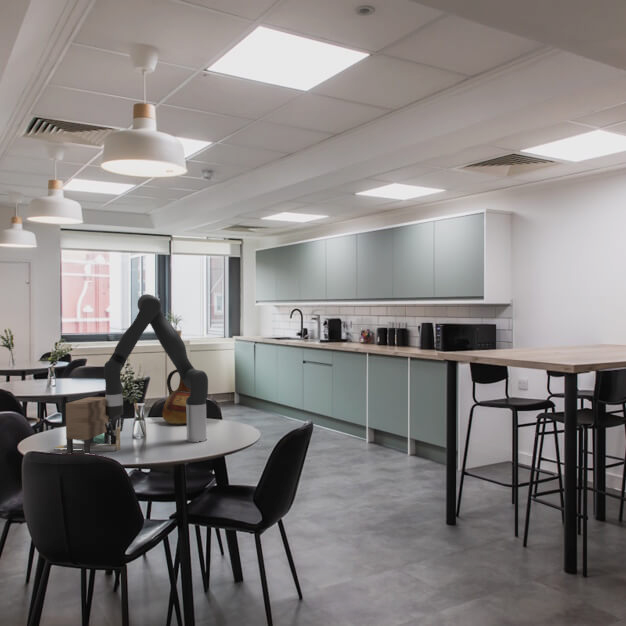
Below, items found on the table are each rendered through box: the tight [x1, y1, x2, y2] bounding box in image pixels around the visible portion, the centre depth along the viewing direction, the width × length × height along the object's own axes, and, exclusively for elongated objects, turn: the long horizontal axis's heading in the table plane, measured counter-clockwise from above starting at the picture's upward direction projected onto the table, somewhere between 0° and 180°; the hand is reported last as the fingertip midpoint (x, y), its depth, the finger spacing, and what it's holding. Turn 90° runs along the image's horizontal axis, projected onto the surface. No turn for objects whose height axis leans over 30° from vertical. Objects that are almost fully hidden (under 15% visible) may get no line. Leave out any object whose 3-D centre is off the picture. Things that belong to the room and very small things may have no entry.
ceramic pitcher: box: [161, 368, 191, 425], centre depth 340 cm, size 20×20×30 cm
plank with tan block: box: [64, 427, 121, 452], centre depth 277 cm, size 5×25×10 cm, turn 81°
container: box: [94, 433, 104, 444], centre depth 296 cm, size 6×6×25 cm
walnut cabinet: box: [65, 396, 111, 454], centre depth 277 cm, size 20×10×22 cm, turn 171°
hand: (115, 442), depth 275 cm, fingers closed on plank with tan block, 3 cm apart
